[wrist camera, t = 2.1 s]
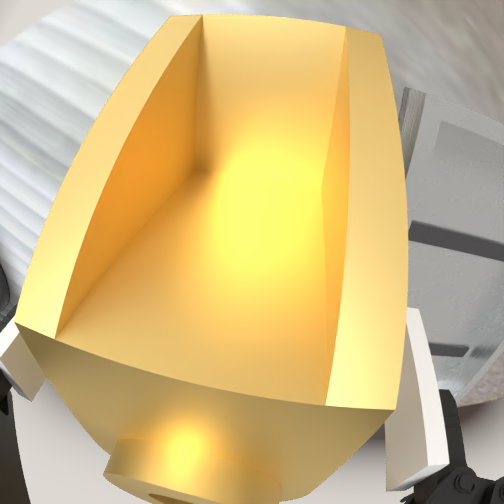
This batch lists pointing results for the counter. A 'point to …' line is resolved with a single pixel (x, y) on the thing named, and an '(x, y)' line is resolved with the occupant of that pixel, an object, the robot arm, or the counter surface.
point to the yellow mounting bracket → (230, 262)
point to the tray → (455, 234)
